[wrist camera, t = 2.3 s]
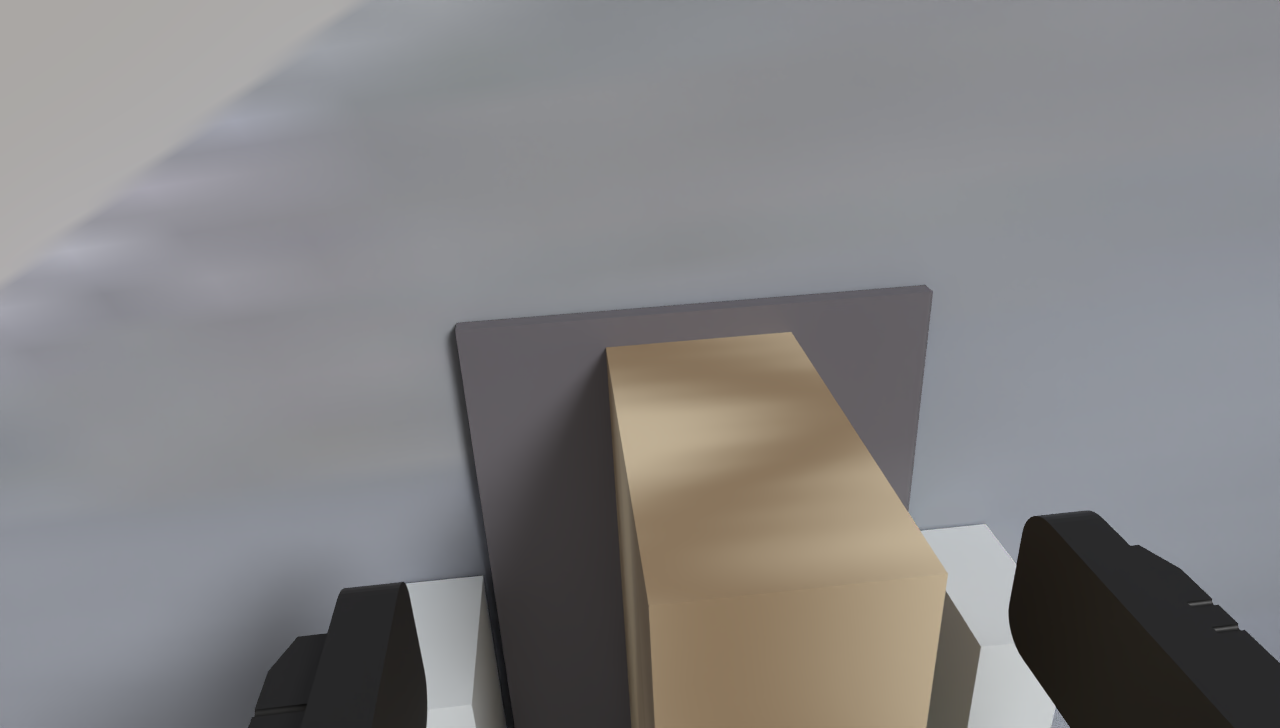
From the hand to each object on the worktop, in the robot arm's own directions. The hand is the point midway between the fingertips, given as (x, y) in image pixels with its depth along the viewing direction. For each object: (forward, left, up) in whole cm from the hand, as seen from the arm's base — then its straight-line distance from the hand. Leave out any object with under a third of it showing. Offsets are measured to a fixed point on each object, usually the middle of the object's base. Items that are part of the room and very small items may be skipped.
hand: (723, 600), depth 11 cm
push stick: (0, +3, -4) cm, 5 cm away
